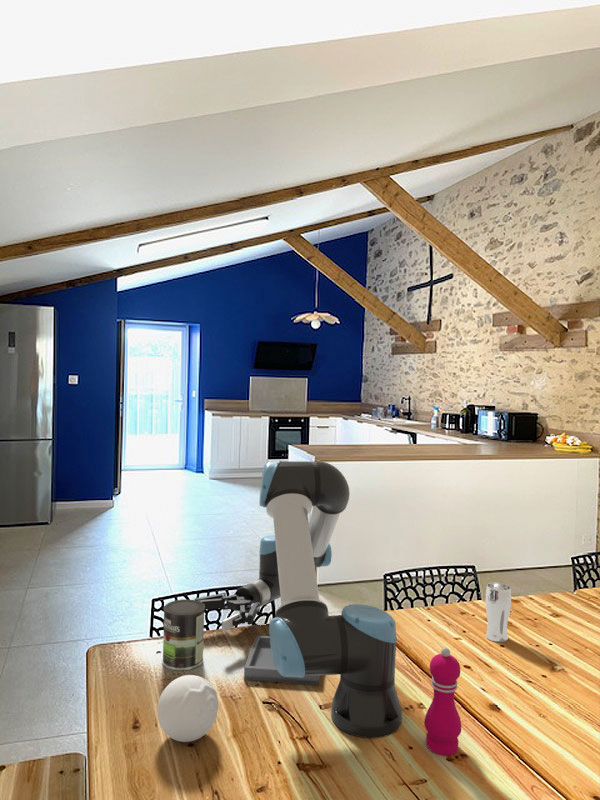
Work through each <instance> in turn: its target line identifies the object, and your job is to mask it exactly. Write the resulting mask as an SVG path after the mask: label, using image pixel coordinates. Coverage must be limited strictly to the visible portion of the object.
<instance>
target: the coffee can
mask: <svg viewBox="0 0 600 800" xmlns="http://www.w3.org/2000/svg"><path fill="white" fill-rule="evenodd" d="M204 626H205V605H204V604H203V603H202V602H199V601H196V600H195V599H186V598H185V599H176V600H173V601H170V602H168V603H166V604H165V605H164V606H163V640H162V643H163V644H162V646H163V647H162V665H163V666H164V667H165V668H166V669H168V670H171V671H178V672H180V671H182V672H183V671H190V670H194V669H196V668H198V667H200V666H201V665H202V663H203V662H204V634H205V633H204V631H205V630H204V629H205V627H204Z"/></svg>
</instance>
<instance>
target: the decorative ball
mask: <svg viewBox="0 0 600 800" xmlns="http://www.w3.org/2000/svg"><path fill="white" fill-rule="evenodd" d="M217 695H218V693H217V691H216V689H215V688H214V686H213V684H211V682H209V681H208V680H207V679H205V678H204V677H201V676H199V675H196V674H195V675H193V674H185V675H181V676H179V677H178V678H175V679H173V680H172V681H171V682H169V684H167V686H166V687H165V688H164V689H163V691H162V692H161V695H160V697H159V699H158V703H157V718H158V724H159V725H160V728H161V729H162V731H163V732H164V733H165V735H167V736H168V737H169V738H170V739H172V740H175V741H176V742H180V743H181V742H182V743H190V742H195V741H197V740H199V739H200V738H202V737H203V736H205V735H206V734H207V733H208V732H209V731H210V730H211V728H212V727H213V725H214V724H215V722H216V719H217V715H218V711H219V701H218V700H219V699H218V696H217Z"/></svg>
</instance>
